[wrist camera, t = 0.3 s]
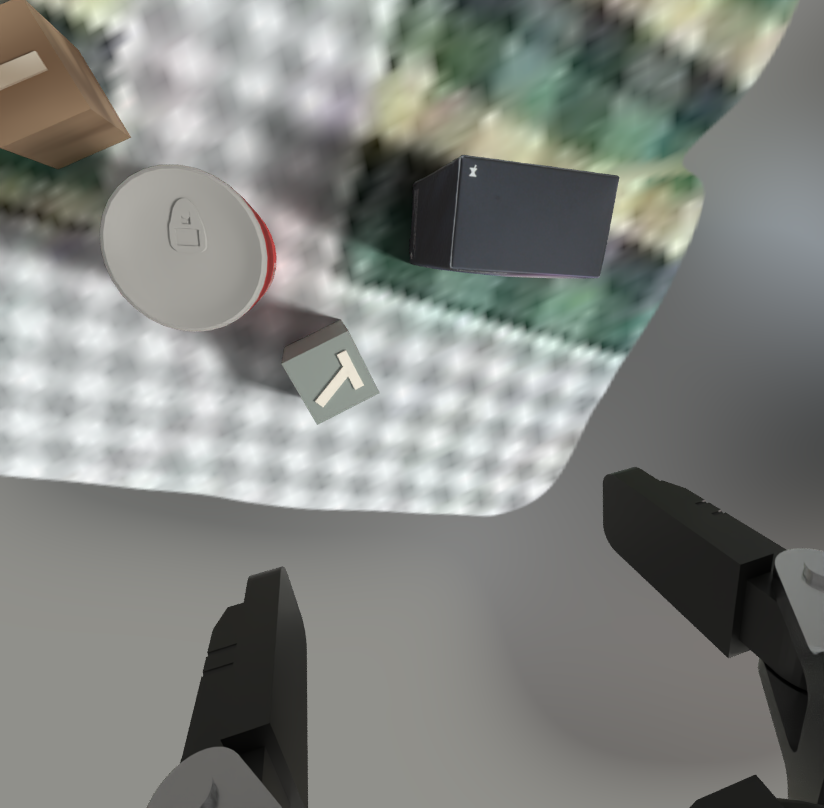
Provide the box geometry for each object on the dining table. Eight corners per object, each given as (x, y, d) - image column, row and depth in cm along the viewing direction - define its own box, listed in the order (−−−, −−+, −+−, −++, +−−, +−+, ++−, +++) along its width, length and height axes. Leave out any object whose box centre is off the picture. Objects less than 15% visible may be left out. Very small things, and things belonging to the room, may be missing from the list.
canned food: (256, 184, 31) (234, 147, 21) (291, 296, 34) (287, 312, 24) (144, 207, 30) (63, 181, 20) (190, 321, 33) (140, 349, 23)
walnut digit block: (0, 83, 26) (-82, 35, 21) (78, 50, 27) (19, -6, 21) (58, 169, 28) (-2, 147, 23) (131, 137, 29) (89, 107, 23)
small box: (406, 269, 35) (446, 273, 26) (411, 180, 33) (456, 147, 24) (526, 276, 38) (603, 282, 28) (537, 194, 36) (623, 169, 26)
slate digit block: (284, 347, 35) (281, 364, 29) (340, 319, 35) (348, 331, 30) (314, 399, 37) (317, 425, 31) (367, 373, 37) (380, 393, 32)
